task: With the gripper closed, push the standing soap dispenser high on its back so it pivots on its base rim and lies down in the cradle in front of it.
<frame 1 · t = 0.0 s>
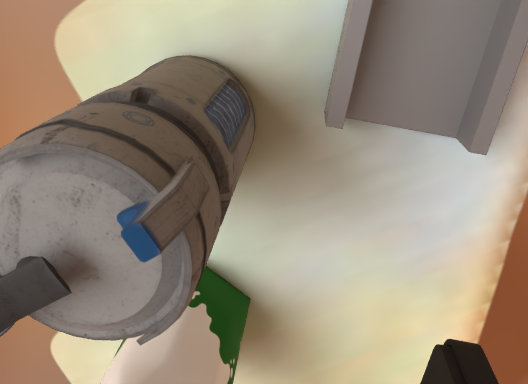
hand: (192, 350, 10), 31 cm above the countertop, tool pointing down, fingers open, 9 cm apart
soya milk: (199, 299, 48), on the countertop
cradle: (419, 38, 37), on the countertop
beverage bottle: (186, 122, 41), on the countertop
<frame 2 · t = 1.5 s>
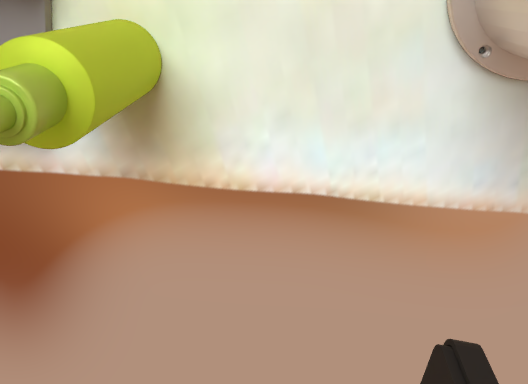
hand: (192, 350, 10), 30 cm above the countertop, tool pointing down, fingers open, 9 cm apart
soap dispenser: (117, 59, 38), on the countertop
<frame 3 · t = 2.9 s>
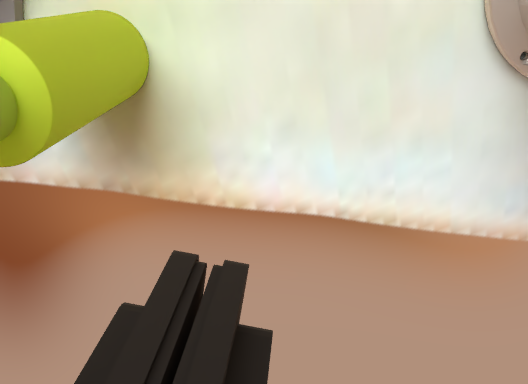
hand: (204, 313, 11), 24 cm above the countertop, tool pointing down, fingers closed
soap dispenser: (99, 56, 33), on the countertop
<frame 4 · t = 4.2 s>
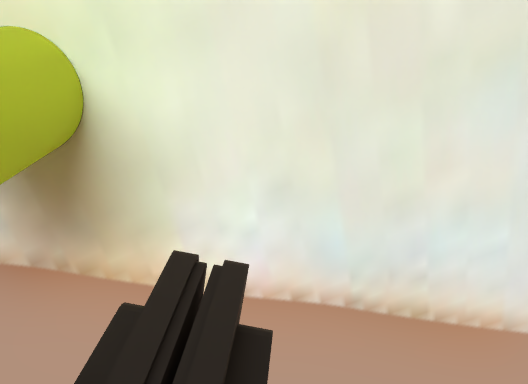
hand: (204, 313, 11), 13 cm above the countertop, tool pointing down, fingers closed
soap dispenser: (13, 89, 24), on the countertop
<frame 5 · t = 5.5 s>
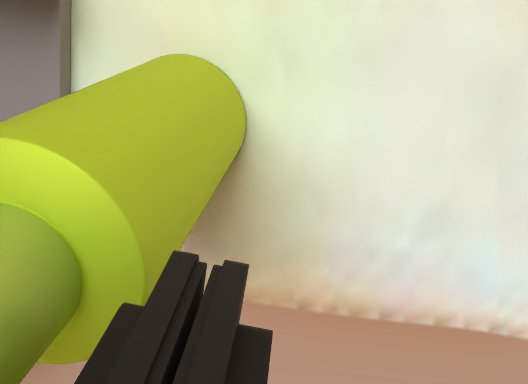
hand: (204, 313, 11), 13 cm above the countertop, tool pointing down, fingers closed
soap dispenser: (174, 116, 23), on the countertop, touching gripper
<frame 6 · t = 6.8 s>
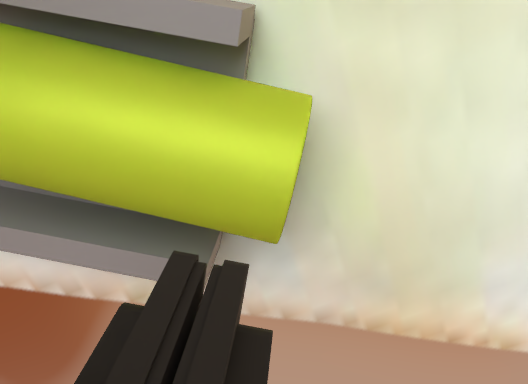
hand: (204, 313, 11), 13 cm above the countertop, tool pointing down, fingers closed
soap dispenser: (299, 168, 20), point 3 cm above the countertop, touching cradle
cradle: (101, 108, 23), on the countertop
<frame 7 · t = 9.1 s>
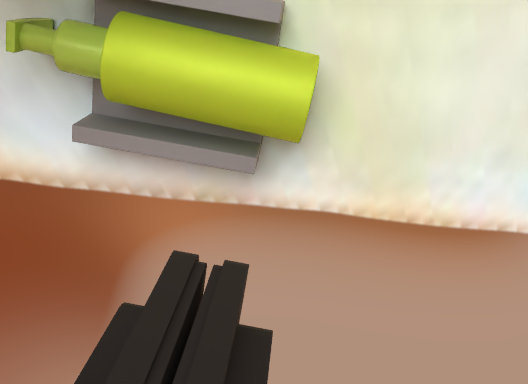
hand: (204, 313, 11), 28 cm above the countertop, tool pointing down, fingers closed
soap dispenser: (311, 99, 34), point 3 cm above the countertop, touching cradle
cradle: (185, 66, 37), on the countertop
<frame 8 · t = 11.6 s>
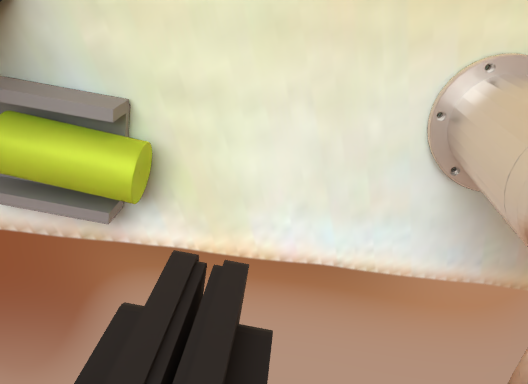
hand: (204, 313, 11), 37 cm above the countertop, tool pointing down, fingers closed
soap dispenser: (146, 171, 47), point 3 cm above the countertop, touching cradle
cradle: (63, 142, 50), on the countertop
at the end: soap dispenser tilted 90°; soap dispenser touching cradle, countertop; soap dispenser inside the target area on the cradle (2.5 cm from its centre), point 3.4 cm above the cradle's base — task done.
